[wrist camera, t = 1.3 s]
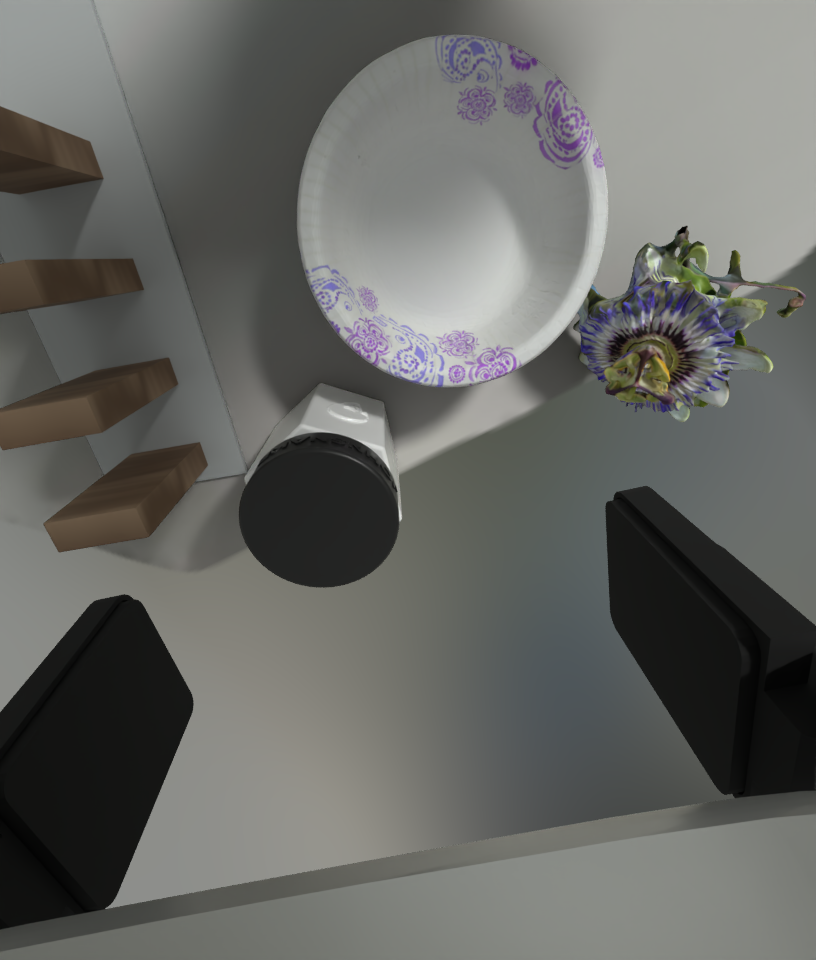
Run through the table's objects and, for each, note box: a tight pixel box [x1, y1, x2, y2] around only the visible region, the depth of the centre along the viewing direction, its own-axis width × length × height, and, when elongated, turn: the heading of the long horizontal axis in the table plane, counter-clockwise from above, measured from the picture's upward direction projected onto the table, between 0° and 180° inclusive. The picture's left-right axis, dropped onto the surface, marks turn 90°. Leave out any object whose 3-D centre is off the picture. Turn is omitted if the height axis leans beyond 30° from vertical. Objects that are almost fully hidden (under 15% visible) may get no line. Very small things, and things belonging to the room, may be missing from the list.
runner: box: [0, 0, 248, 482], centre depth 30 cm, size 29×10×1 cm, turn 9°
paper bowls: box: [297, 34, 608, 387], centre depth 27 cm, size 15×15×8 cm
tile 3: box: [0, 258, 144, 314], centre depth 26 cm, size 2×5×10 cm, turn 99°
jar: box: [239, 383, 402, 587], centre depth 30 cm, size 9×8×12 cm
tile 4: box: [0, 357, 178, 450], centre depth 28 cm, size 2×5×10 cm, turn 100°
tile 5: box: [44, 442, 208, 552], centre depth 31 cm, size 2×5×10 cm, turn 99°
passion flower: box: [573, 226, 806, 422], centre depth 30 cm, size 11×11×12 cm
